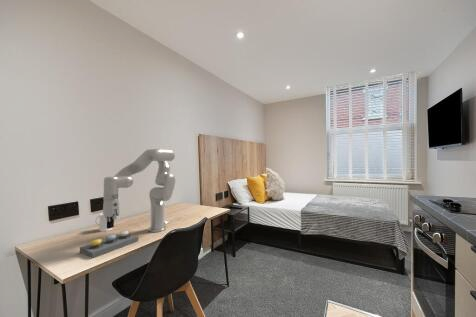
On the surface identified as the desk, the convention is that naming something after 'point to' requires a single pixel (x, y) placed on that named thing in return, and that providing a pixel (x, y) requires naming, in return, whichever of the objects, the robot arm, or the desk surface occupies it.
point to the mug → (103, 223)
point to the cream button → (124, 233)
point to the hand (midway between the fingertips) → (110, 227)
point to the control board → (108, 245)
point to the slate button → (110, 237)
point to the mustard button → (96, 242)
